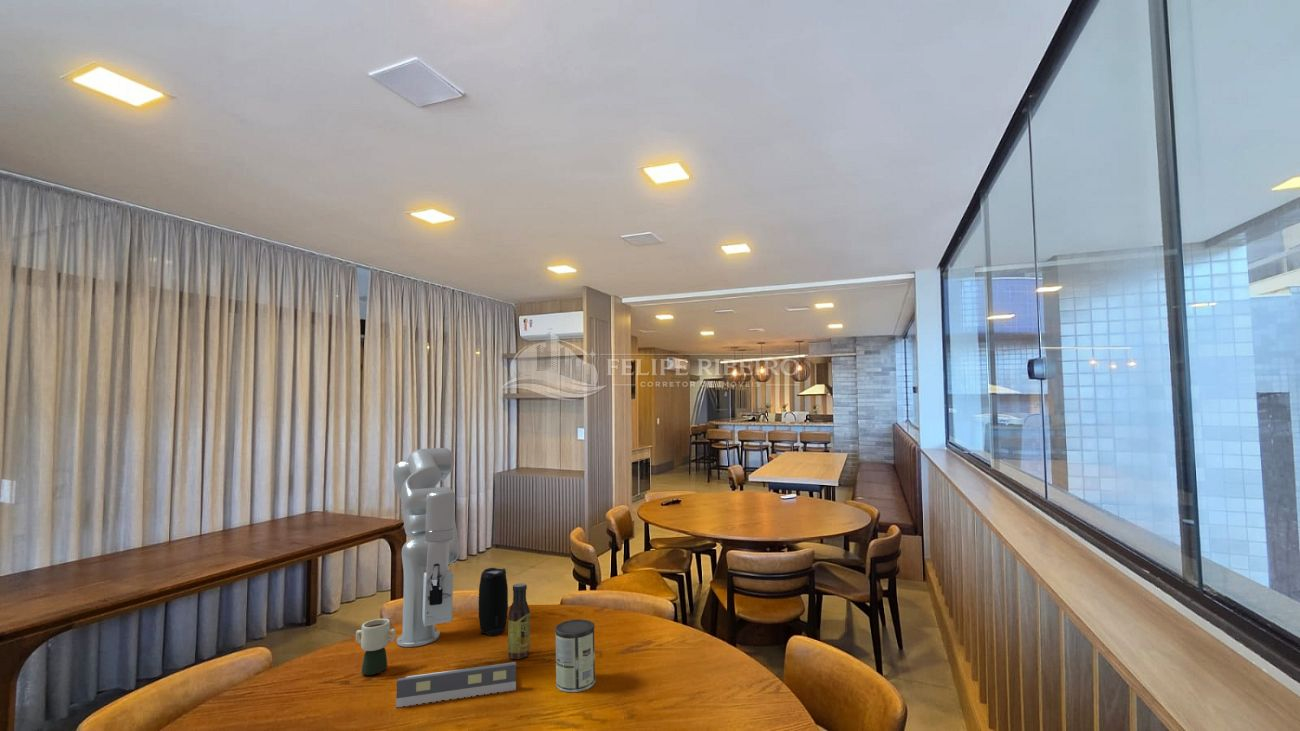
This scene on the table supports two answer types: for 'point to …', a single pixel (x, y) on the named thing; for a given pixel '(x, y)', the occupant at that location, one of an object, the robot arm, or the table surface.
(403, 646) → the robot arm
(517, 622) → the sauce bottle
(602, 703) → the table surface
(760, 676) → the table surface
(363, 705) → the table surface
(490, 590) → the portable speaker
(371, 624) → the character mug
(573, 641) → the coffee can
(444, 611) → the supplement box
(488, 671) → the rail
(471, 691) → the shelf board
